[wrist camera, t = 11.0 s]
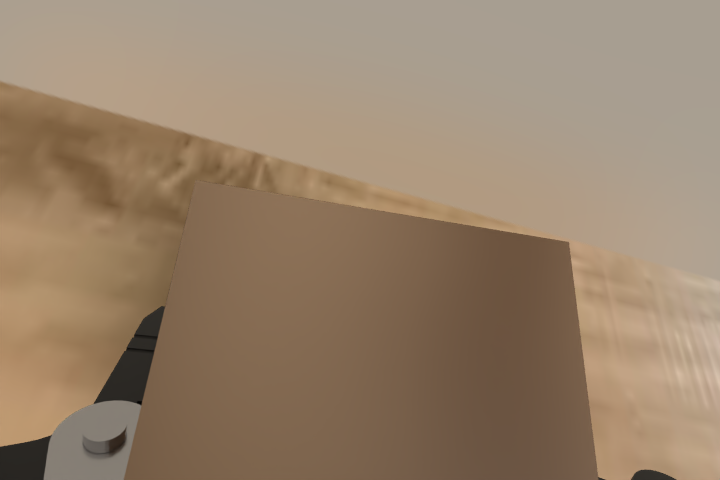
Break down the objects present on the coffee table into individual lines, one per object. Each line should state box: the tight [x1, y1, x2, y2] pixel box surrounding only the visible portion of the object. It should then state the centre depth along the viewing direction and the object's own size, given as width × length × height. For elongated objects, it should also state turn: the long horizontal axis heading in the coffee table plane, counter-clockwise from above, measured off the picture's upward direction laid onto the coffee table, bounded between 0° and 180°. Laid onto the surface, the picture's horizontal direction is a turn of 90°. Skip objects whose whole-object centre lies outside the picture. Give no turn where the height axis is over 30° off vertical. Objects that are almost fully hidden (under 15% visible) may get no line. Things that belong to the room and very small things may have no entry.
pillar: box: [124, 180, 598, 480], centre depth 9 cm, size 5×5×10 cm
